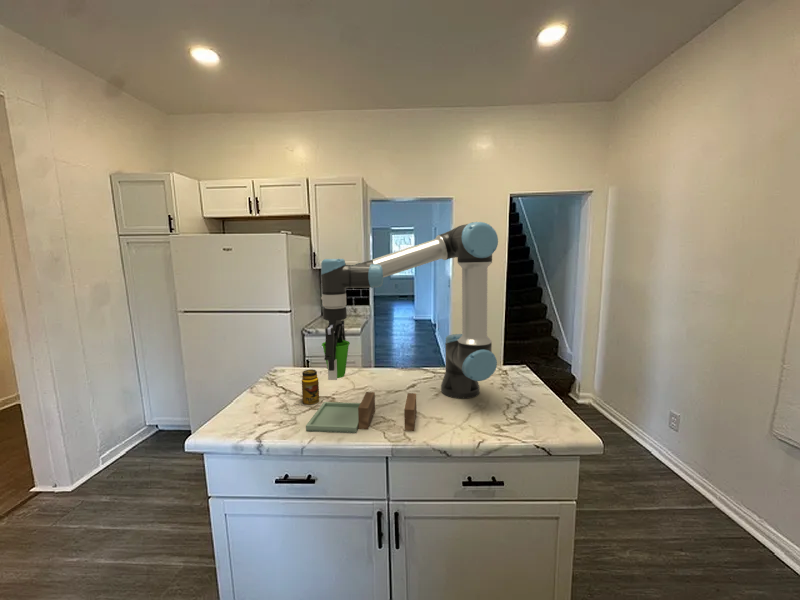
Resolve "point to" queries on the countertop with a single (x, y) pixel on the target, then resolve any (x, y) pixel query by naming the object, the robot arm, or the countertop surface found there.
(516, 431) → the countertop surface
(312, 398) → the condiment
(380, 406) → the countertop surface
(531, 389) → the countertop surface
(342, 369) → the cup
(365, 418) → the holder
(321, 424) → the tray
